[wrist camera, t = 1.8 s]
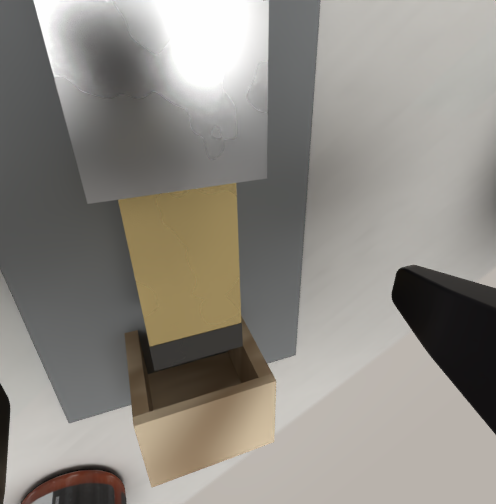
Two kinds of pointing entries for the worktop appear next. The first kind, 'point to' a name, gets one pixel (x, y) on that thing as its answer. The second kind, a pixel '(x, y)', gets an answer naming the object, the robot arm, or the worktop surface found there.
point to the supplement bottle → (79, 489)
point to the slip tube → (186, 271)
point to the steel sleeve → (161, 91)
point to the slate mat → (111, 225)
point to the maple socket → (200, 408)
